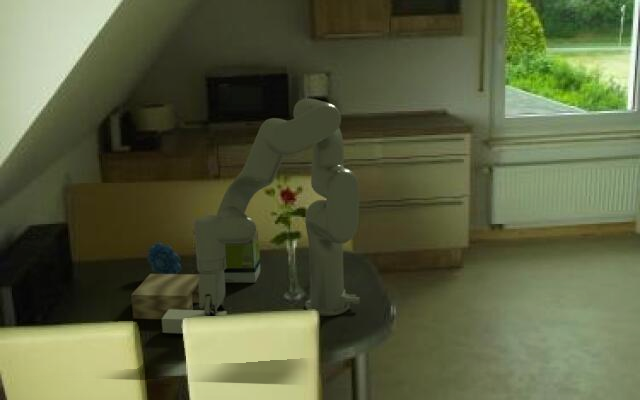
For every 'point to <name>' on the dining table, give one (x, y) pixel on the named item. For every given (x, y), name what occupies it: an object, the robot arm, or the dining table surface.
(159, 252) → the grapes
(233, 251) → the tea box
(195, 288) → the oak box
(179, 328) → the cover board
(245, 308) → the dining table surface
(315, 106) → the robot arm
